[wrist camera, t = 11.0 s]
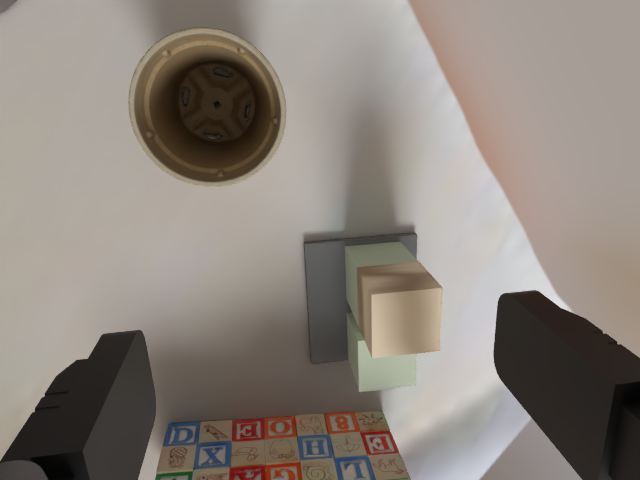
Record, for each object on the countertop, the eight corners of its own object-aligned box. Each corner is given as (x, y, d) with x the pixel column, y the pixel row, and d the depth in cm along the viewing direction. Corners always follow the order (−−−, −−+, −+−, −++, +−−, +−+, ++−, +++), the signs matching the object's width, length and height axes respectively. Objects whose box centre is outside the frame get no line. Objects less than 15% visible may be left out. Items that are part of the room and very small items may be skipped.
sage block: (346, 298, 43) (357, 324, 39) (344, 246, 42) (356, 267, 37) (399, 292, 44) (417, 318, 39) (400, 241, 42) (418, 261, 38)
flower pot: (263, 26, 36) (266, 12, 28) (290, 149, 39) (300, 169, 31) (138, 52, 35) (105, 45, 27) (176, 175, 39) (156, 201, 31)
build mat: (310, 360, 46) (311, 364, 45) (303, 242, 42) (304, 244, 41) (412, 349, 47) (414, 352, 46) (414, 232, 43) (416, 234, 42)
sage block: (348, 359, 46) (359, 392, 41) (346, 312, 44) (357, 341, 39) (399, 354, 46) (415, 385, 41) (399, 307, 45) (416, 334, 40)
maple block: (357, 324, 39) (372, 358, 34) (356, 267, 37) (371, 294, 32) (417, 318, 39) (439, 350, 35) (419, 261, 38) (442, 287, 33)
